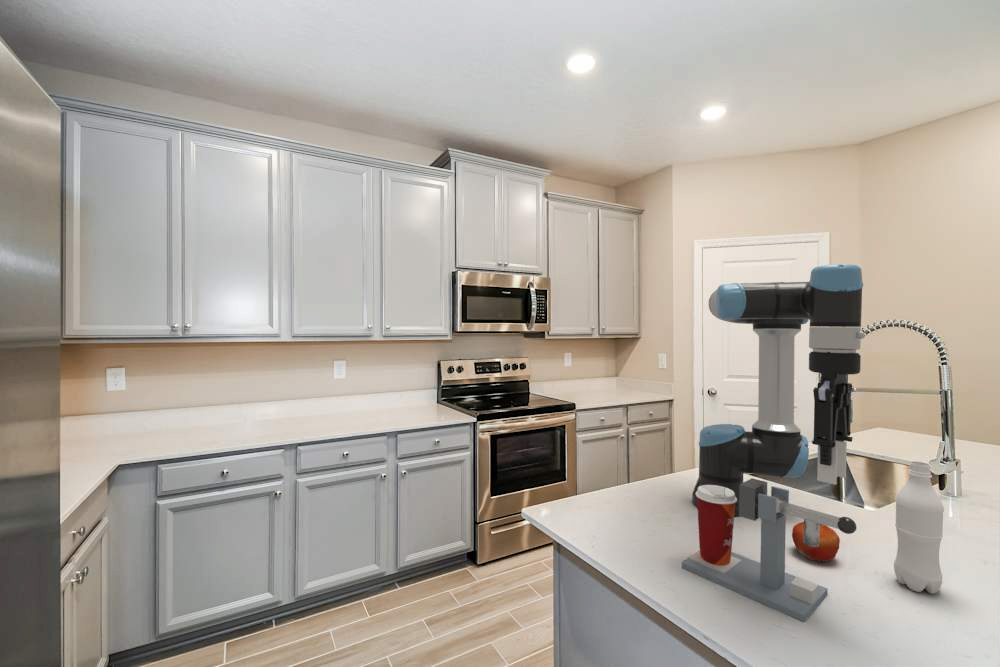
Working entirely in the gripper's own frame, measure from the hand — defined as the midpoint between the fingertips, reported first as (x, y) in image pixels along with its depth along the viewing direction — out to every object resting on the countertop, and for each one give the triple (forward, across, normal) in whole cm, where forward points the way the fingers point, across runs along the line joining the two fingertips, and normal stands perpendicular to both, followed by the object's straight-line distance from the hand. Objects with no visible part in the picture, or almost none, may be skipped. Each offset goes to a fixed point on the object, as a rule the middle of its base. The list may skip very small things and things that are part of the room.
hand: (831, 478), depth 82 cm
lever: (+13, 0, +6) cm, 14 cm away
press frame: (+25, 0, +14) cm, 28 cm away
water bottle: (+25, +24, -8) cm, 36 cm away
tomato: (+25, +22, +8) cm, 34 cm away
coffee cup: (+23, 0, +21) cm, 31 cm away
